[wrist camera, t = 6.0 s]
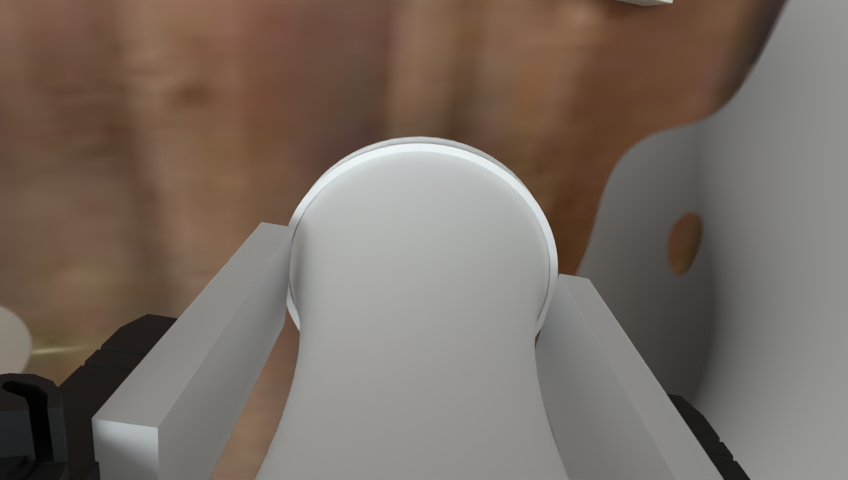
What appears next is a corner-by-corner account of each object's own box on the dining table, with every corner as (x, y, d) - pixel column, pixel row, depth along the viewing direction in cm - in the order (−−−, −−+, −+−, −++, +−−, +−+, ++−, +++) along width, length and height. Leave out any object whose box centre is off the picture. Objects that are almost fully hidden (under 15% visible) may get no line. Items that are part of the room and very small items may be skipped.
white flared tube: (424, 73, 12) (420, 184, 3) (601, 270, 14) (916, 688, 5) (235, 261, 14) (-108, 669, 5) (415, 410, 16) (404, 892, 7)
